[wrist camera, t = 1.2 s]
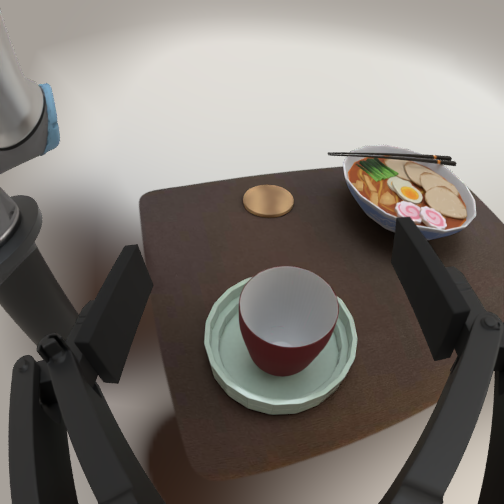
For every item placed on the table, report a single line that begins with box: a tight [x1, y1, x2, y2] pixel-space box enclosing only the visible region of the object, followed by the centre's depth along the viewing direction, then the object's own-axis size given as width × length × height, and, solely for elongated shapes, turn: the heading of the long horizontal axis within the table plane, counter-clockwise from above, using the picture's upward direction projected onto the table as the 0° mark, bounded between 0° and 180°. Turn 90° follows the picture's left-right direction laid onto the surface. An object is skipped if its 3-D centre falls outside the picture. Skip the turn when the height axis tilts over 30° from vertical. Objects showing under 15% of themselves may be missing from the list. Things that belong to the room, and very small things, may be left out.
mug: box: [239, 266, 339, 377], centre depth 30 cm, size 10×8×10 cm
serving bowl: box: [204, 277, 357, 415], centre depth 32 cm, size 15×15×4 cm
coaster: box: [243, 185, 294, 218], centre depth 52 cm, size 8×8×1 cm
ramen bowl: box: [328, 145, 476, 240], centre depth 47 cm, size 25×23×8 cm
